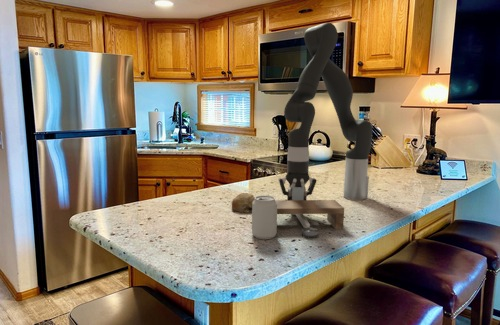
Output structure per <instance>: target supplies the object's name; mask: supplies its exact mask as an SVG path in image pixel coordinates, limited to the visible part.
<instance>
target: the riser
mask: <svg viewBox="0 0 500 325" xmlns="http://www.w3.org/2000/svg"><path fill="white" fill-rule="evenodd" d="M275 201H276V202H277V215H292V214H303V215H322V214H323V215H327V216H326V217H327V218H326V219H327V220H326V221H328V222H329V223H330V224H331V226H333V228H334V229H335V230H344V223H345V222H344V219H345V207H343V206H342V204H340V203H339V202H338V201H336V199H306V200H287V199H281V200H277V199H275Z"/></svg>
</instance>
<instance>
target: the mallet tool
mask: <svg viewBox="0 0 500 325" xmlns="http://www.w3.org/2000/svg"><path fill="white" fill-rule="evenodd" d="M292 188H293V190H292V200H304V187H292ZM291 216H296V218H297V219H298V221H299V222H300V224H301V226H302V227H303V228H311V224H310V222H309V221H308V219H307V218H306V216H305V214H291Z"/></svg>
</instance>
